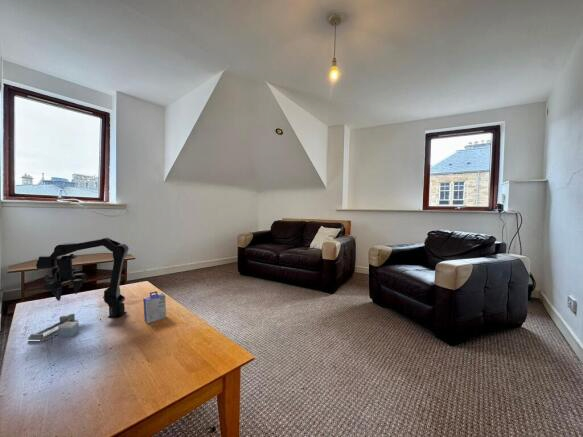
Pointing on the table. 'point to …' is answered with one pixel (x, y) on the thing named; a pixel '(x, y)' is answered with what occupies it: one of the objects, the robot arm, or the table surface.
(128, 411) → the table surface
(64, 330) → the block
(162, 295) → the ink cartridge box
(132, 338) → the table surface
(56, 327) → the din rail
